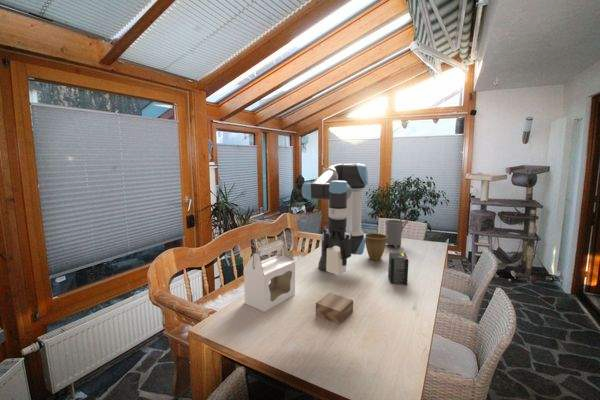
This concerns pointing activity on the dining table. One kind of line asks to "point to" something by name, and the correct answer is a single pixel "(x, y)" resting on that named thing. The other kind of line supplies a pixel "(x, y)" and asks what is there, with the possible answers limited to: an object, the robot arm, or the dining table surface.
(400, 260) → the tampon box
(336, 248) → the cream block
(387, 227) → the grey pitcher
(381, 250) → the plant pot
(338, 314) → the walnut block
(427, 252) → the dining table surface
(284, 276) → the gable box
